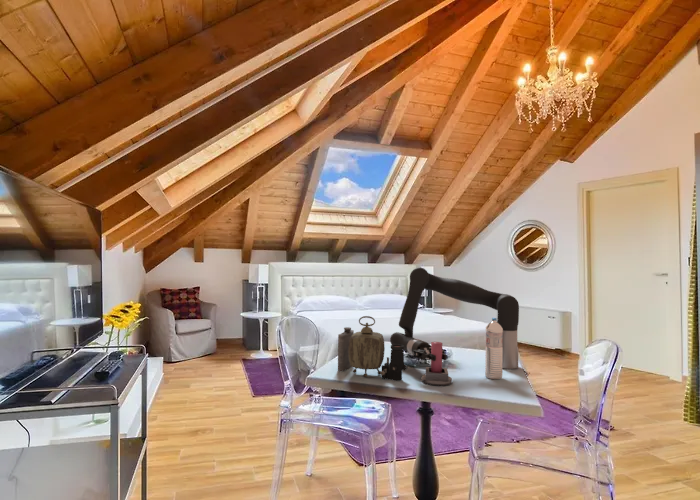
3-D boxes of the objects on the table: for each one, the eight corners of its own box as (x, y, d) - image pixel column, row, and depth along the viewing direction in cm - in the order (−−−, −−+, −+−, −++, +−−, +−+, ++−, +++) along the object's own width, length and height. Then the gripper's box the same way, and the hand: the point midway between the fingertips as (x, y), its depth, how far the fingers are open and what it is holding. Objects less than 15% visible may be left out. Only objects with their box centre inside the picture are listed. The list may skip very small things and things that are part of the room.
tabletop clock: (384, 374, 179) (385, 315, 179) (382, 380, 170) (383, 318, 170) (351, 371, 181) (351, 314, 182) (347, 377, 172) (348, 317, 173)
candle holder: (450, 378, 174) (450, 367, 174) (453, 387, 162) (453, 375, 162) (421, 376, 176) (421, 365, 176) (421, 385, 164) (421, 373, 164)
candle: (441, 376, 171) (442, 342, 171) (442, 379, 166) (442, 344, 166) (430, 375, 171) (431, 341, 172) (430, 378, 167) (431, 343, 167)
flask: (355, 364, 194) (356, 325, 195) (344, 372, 181) (345, 330, 181) (348, 363, 196) (348, 324, 196) (336, 371, 182) (337, 329, 182)
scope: (386, 342, 178) (409, 344, 173) (386, 374, 177) (409, 378, 173) (380, 345, 170) (403, 348, 166) (379, 379, 170) (403, 383, 166)
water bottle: (500, 381, 171) (501, 319, 171) (483, 378, 174) (484, 318, 175) (503, 376, 177) (504, 317, 177) (487, 374, 180) (487, 316, 181)
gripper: (404, 340, 180) (425, 349, 164) (433, 339, 185) (455, 347, 169) (404, 358, 180) (424, 368, 164) (432, 356, 185) (455, 366, 169)
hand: (440, 357), depth 166 cm, fingers closed on candle, 4 cm apart
